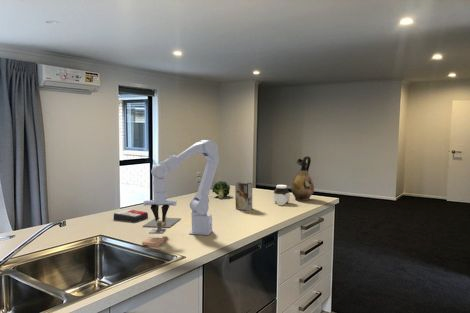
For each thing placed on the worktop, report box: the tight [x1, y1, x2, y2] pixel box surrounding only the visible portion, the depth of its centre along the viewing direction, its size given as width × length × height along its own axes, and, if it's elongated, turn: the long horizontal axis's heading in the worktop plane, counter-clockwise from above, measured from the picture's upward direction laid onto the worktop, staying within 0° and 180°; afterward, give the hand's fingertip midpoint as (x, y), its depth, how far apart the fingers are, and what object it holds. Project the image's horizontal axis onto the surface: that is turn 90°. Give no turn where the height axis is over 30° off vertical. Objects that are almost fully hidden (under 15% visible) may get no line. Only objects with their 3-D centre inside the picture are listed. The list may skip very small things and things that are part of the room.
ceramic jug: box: [290, 155, 315, 202], centre depth 251 cm, size 17×15×30 cm
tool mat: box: [142, 216, 182, 229], centre depth 191 cm, size 14×18×1 cm
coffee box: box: [234, 181, 253, 211], centre depth 224 cm, size 9×6×16 cm
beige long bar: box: [148, 215, 168, 235], centre depth 164 cm, size 14×6×4 cm, turn 176°
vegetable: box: [211, 180, 231, 199], centre depth 264 cm, size 12×13×15 cm
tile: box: [141, 236, 165, 247], centre depth 157 cm, size 7×2×7 cm
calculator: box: [113, 208, 149, 223], centre depth 201 cm, size 11×4×15 cm
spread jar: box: [273, 184, 291, 206], centre depth 238 cm, size 12×11×12 cm
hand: (160, 221), depth 165 cm, fingers closed on beige long bar, 2 cm apart
